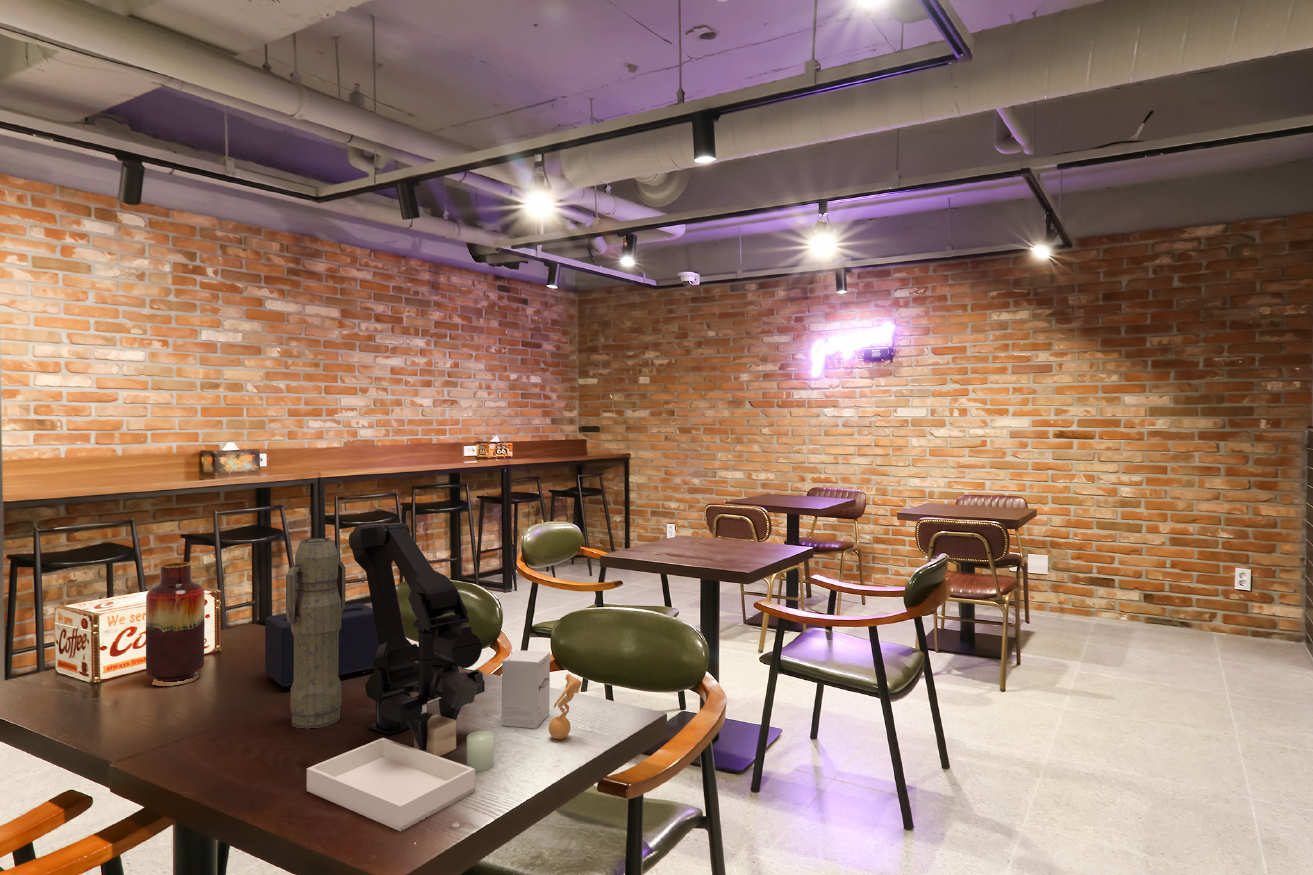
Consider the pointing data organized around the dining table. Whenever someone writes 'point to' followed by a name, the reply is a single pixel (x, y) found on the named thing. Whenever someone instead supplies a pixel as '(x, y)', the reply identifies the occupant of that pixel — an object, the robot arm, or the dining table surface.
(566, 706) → the figurine
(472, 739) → the green cylinder
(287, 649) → the speaker
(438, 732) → the beech cube
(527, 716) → the supplement box
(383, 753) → the bin
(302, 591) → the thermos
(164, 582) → the vase
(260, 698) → the dining table surface
